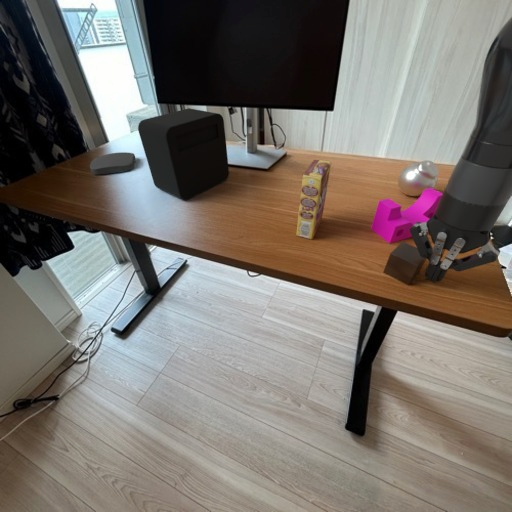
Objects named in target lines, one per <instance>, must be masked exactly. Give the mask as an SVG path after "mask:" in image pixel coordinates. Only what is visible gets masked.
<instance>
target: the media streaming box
mask: <svg viewBox="0 0 512 512" xmlns="http://www.w3.org/2000/svg"><path fill="white" fill-rule="evenodd" d="M136 161H137V158H136V155H135V153H132V152H126V151H125V152H121V151H120V152H113V153H107V154H103V155H101V156H98V157H95V158H93V159H92V160H91V162H90V164H89V170H90V172H91V174H92V175H108V174H116V173H123V172H128V171H131V170H133V169H134V168H135V166H136Z"/></svg>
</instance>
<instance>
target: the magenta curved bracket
mask: <svg viewBox="0 0 512 512" xmlns="http://www.w3.org/2000/svg"><path fill="white" fill-rule="evenodd" d="M442 195H443V192H441V191H438V190H437V189H435V188H433V189H432V188H429V189H425V190H424V191H423V193H422V195H420V196H418V198H417V200H416V201H415V202H414V203H413V204H412V205H410V206H409V207H407V208H406V209H403V210H402V205H400V204H399V203H397V202H395V201H394V200H393V199H391V198H384V199H381V200H379V201H378V204H377V207H376V210H375V213H374V217H373V221H372V224H371V227H370V229H371V230H372V231H373V232H374V233H375V234H376V235H378V236H379V237H380V238H382V239H383V240H384V241H385V242H387V243H388V244H393V243H397V242H399V241H403V240H405V239H409V238H412V235H411V233H410V228H411V227H412V226H413V225H414V224H415V223H416V222H421V223H424V222H427V221H428V220H429V219H430V218H431V217H432V216H433V215H434V213H435V211H436V209H437V206H438V204H439V202H440V199H441V197H442Z"/></svg>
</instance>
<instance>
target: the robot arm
mask: <svg viewBox="0 0 512 512" xmlns="http://www.w3.org/2000/svg"><path fill="white" fill-rule="evenodd" d="M489 46H490V47H489V49H488V51H487V53H486V56H485V59H484V62H483V67H482V73H481V78H480V84H479V86H480V87H479V93H478V99H477V106H476V115H475V122H474V126H473V128H472V130H471V132H470V134H469V137H468V139H467V141H466V143H465V146H464V149H463V151H462V153H461V155H460V157H459V159H458V161H457V163H456V164H455V166H454V167H453V169H452V172H451V173H450V176H449V178H448V181H447V183H446V185H445V188H444V190H443V192H442V194H443V195H442V197H441V199H440V202H439V204H438V206H437V209H436V211H435V213H434V215H433V216H432V217H431V218H430V219H429V220H428V221H427V222H424V223H421V222H416V223H415V224H414V225H413V226H412V227H411V228H410V233H411V235H412V237H411V238H412V240H413V242H414V244H415V247H417V249H418V251H419V254H420V256H421V257H423V258H426V260H427V261H428V264H427V266H426V269H425V270H424V273H423V275H424V277H426V278H425V280H426V281H427V282H430V283H432V284H435V283H436V282H437V283H440V282H442V280H443V279H444V278H445V275H446V274H447V272H448V270H454V271H455V272H458V273H459V272H464V271H466V270H470V269H473V268H477V267H481V266H484V265H488V264H491V263H494V262H496V261H497V259H498V258H499V256H500V253H501V250H500V249H499V248H498V247H494V246H493V245H492V243H491V241H490V240H491V239H492V234H491V231H492V229H493V228H494V226H495V224H496V223H497V221H498V219H499V217H500V216H501V214H502V212H503V211H504V209H505V208H506V206H507V204H508V202H509V201H510V199H511V197H512V16H511V17H510V18H509V19H508V20H507V21H506V22H505V24H504V25H503V26H502V27H501V28H500V30H499V31H498V32H497V34H496V35H495V37H494V38H493V40H492V42H491V44H490V45H489ZM428 234H429V236H428ZM429 237H430V238H429ZM430 239H431V241H430ZM431 242H432V244H434V245H433V246H432V244H431ZM476 249H478V250H477V251H476V253H473V254H470V255H468V256H467V255H466V256H464V257H460V258H457V256H458V255H461V254H466V253H468V252H471V251H474V250H476ZM446 251H448V252H447V254H446V255H445V257H444V258H443V256H444V254H445V252H446ZM442 259H443V260H442Z"/></svg>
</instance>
